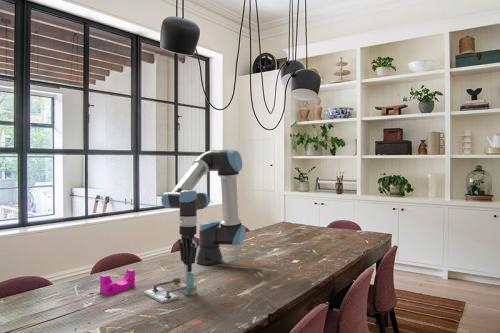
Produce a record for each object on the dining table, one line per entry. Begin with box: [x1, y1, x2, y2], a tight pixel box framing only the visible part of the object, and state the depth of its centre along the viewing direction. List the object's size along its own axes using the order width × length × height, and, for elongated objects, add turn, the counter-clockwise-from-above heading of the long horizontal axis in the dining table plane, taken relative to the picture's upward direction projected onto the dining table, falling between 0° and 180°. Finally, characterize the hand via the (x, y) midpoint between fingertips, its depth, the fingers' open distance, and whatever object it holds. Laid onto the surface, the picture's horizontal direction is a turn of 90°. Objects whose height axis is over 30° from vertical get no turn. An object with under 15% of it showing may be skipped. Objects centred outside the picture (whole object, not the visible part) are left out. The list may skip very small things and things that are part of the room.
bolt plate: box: [143, 286, 180, 304], centre depth 165 cm, size 8×16×1 cm, turn 42°
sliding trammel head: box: [166, 272, 198, 297], centre depth 165 cm, size 14×3×8 cm, turn 132°
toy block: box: [99, 268, 136, 296], centre depth 174 cm, size 15×6×8 cm, turn 137°
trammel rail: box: [153, 277, 197, 296], centre depth 169 cm, size 13×16×4 cm
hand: (187, 278), depth 169 cm, fingers closed
